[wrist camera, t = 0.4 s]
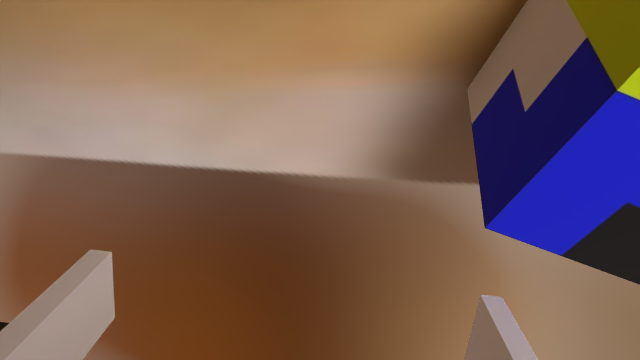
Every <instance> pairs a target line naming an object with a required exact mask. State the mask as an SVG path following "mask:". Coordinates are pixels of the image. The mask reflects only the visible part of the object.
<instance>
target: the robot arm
mask: <svg viewBox="0 0 640 360" xmlns="http://www.w3.org/2000/svg"><path fill="white" fill-rule="evenodd" d="M114 318H115V309H114V290H113V266H112V252H108V251H100V250H91V249H90V250H89V251H88V252H87V253H86V254H85V255H84V256H83V257H82V258H81V259H79V260H78V261H77V262H76V263H75V264H74V265H73V266H72V267H71V268H70V269H68V270H67V271H66V272H65V273H64V274H63V275H62V276H61V277H60V278H59V279H57V280H56V281H55V282H54V283H53V284H52V285H51V286H50V287H49V288H48V289H46V290H45V291H44V292H43V293H42V294H41V295H40V296H39V297H38V298H37V299H35V300H34V301H33V302H32V303H31V304H30V305H29V306H28V307H27V308H26V309H24V310H23V311H22V312H21V313H20V314H19V315H18V316H17V317H16V318H15V319H13V320H12V321H11V322H10V323H4V322H0V360H83V358H84V357H85V356H86V354H87V353H88V352H89V351H90V349H91V348H92V347H93V345H94V344H95V343H96V341H97V340H98V339H99V337H100V336H101V335H102V333H103V332H104V331H105V330H106V328H107V327H108V326H109V324H110V323H111V322H112V321H113V319H114ZM465 360H538V358H537V357H536V355H535V353H534V352H533V350H532V348H531V346H530V345H529V343H528V341H527V339H526V338H525V336H524V334H523V332H522V331H521V329H520V327H519V326H518V324H517V322H516V320H515V319H514V317H513V315H512V313H511V312H510V310H509V308H508V307H507V305H506V303H505V301H504V300H503V298H502V297H496V296H487V295H480V299H479V302H478V306H477V311H476V314H475V318H474V322H473V326H472V330H471V334H470V338H469V342H468V346H467V350H466V354H465Z"/></svg>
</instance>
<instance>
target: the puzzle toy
mask: <svg viewBox="0 0 640 360" xmlns="http://www.w3.org/2000/svg"><path fill="white" fill-rule="evenodd" d="M467 92H468V99H469V107H470V115H471V123H472V131H473V139H474V146H475V154H476V162H477V170H478V178H479V186H480V193H481V201H482V209H483V217H484V225H485V228H486V229H489V230H492V231H495V232H497V233H500V234H503V235H506V236H508V237H511V238H514V239H517V240H520V241H522V242H525V243H527V244H530V245H533V246H536V247H539V248H541V249H544V250H547V251H550V252H552V253H555V254H558V255H560V256H563V257H566V258H569V259H571V260H574V261H577V262H579V263H582V264H585V265H588V266H590V267H593V268H596V269H599V270H601V271H604V272H607V273H610V274H612V275H615V276H618V277H621V278H623V279H626V280H629V281H632V282H634V283H637V284H640V0H527V1H526V3H525V4H524V6H523V7H522V9H521V10H520V12H519V13H518V15H517V16H516V18H515V19H514V21H513V22H512V23H511V25H510V26H509V28H508V29H507V31H506V32H505V34H504V35H503V37H502V38H501V40H500V41H499V43H498V44H497V46H496V47H495V49H494V50H493V52H492V53H491V54H490V56H489V57H488V59H487V60H486V62H485V63H484V65H483V66H482V68H481V69H480V71H479V72H478V74H477V75H476V77H475V78H474V80H473V81H472V82H471V84H470V85H469V87H468V88H467Z"/></svg>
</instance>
